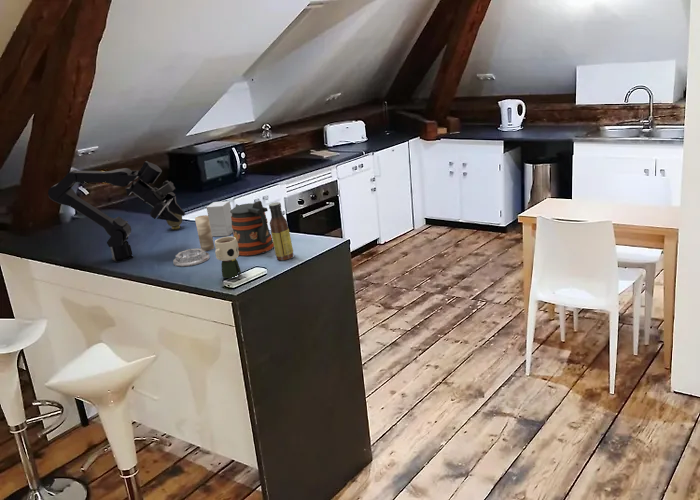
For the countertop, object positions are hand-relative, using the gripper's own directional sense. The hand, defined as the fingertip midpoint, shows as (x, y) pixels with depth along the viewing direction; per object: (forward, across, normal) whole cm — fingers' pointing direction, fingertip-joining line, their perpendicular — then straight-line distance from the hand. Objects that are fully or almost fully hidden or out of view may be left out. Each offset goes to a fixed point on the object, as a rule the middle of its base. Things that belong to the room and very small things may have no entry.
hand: (181, 218), depth 258 cm
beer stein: (+29, -10, -10) cm, 33 cm away
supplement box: (+17, +18, +2) cm, 25 cm away
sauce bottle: (+37, -22, -18) cm, 46 cm away
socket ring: (+12, -12, +7) cm, 18 cm away
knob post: (+14, 0, +4) cm, 15 cm away
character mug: (+25, -35, -6) cm, 43 cm away
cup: (0, +34, +18) cm, 38 cm away
